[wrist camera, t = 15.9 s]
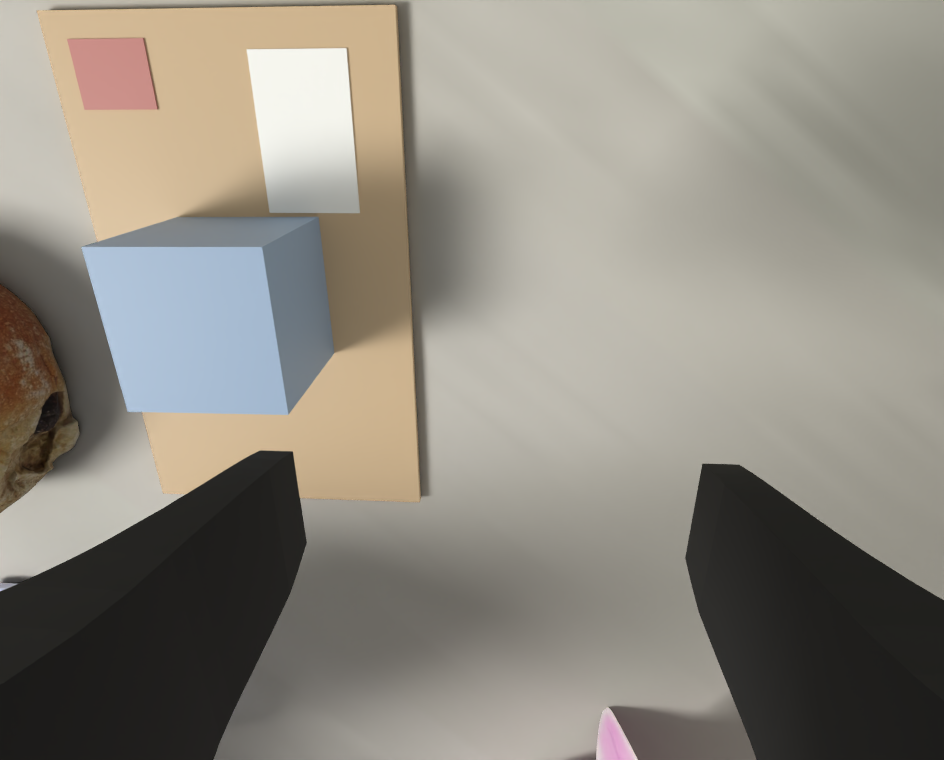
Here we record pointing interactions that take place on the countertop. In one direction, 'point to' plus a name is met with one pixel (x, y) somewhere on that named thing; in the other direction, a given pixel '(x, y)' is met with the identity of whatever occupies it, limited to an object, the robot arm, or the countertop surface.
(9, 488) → the bread roll
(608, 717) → the lily
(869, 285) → the countertop surface
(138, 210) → the envelope
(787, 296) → the countertop surface
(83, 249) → the blue cube
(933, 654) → the robot arm
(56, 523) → the countertop surface
